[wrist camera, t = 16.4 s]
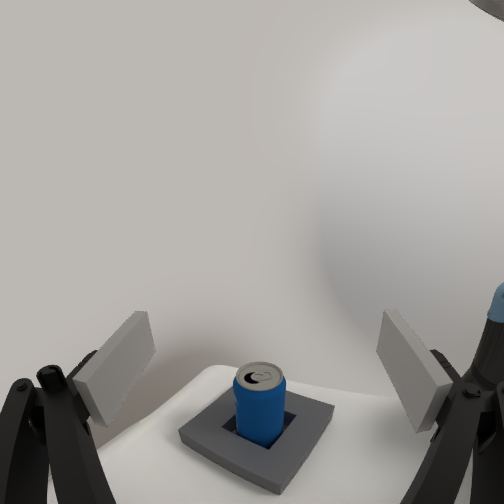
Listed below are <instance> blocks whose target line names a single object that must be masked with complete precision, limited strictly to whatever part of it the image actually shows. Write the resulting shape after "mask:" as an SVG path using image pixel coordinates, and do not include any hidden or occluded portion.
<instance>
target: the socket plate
mask: <svg viewBox="0 0 504 504" xmlns="http://www.w3.org/2000/svg"><path fill="white" fill-rule="evenodd" d="M334 407H335V406H334V405H330V404H327V403H324V402H320V401H317V400H314V399H311V398H307V397H304V396H301V395H298V394H295V393H292V392H289V391H286V393H285V407H284V420H283V423H284V424H287V425H289V426H288V427H287V429H286V430H285V431H284V432H283V434H282V435H281V436H280V437H279V439H278V440H277V441H276V442H275V443H274V445H273V446H272V447H271V448H270V449H269V450H268V449H266V448H263V447H261V446H259V445H257V444H254V443H252V442H250V441H248V440H246V439H244V438H242V437H240V436H238V435H236V434H234V433H232V432H231V431H232V430H233V429H234V428H235V427H236V415H235V403H234V391H233V386H232V387H231V388H230V389H229V390H228V391H226V392H225V393H224V394H223V395H222V396H220V397H219V398H218V399H217V400H216V401H214V402H213V403H212V404H211V405H209V406H208V407H207V408H206V409H204V410H203V411H202V412H201V413H199V414H198V415H197V416H195V417H194V418H193V419H192V420H190V421H189V422H188V423H186V424H185V425H184V426H182V427H181V428H180V429H178V431H179V435H180V438H181V441H182V442H183V443H184V444H186V445H187V446H189V447H190V448H192V449H193V450H195V451H196V452H198V453H199V454H201V455H203V456H204V457H206V458H208V459H209V460H211V461H213V462H214V463H216V464H218V465H220V466H221V467H223V468H225V469H227V470H229V471H230V472H232V473H234V474H236V475H238V476H240V477H242V478H244V479H246V480H248V481H250V482H252V483H254V484H256V485H258V486H260V487H262V488H264V489H267V490H269V491H271V492H273V493H276V494H278V495H281V493H282V492H283V491H284V489H285V488H286V487H287V485H288V484H289V483H290V481H291V480H292V479H293V477H294V476H295V475H296V473H297V472H298V470H299V469H300V468H301V466H302V465H303V463H304V462H305V460H306V459H307V457H308V456H309V454H310V453H311V451H312V450H313V448H314V447H315V445H316V444H317V442H318V440H319V439H320V437H321V436H322V434H323V432H324V431H325V429H326V428H327V426H328V424H329V422H330V421H331V419H332V416H333V411H334Z"/></svg>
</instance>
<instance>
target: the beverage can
mask: <svg viewBox="0 0 504 504" xmlns="http://www.w3.org/2000/svg"><path fill="white" fill-rule="evenodd" d="M233 391H234V403H235V415H236V427H237V435H238V436H240V437H242V438H244V439H246V440H248V441H250V442H252V443H254V444H257V445H259V446H261V447H263V448H265V447H269V446H272V445H274V443H275V442H276V441H277V440H278V439H279V437H280V436H281V435H282V432H283V420H284V407H285V393H286V380H285V378H284V376H283V373H282V371H281V369H280V368H279V367H277V366H276V365H274V364H271V363H267V362H253V363H249V364H246V365H244V366H242V367H241V368H240V369H239V370H238V371H237V373H236V377H235V378H234V381H233Z"/></svg>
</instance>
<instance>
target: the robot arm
mask: <svg viewBox="0 0 504 504" xmlns="http://www.w3.org/2000/svg"><path fill="white" fill-rule="evenodd" d="M469 1H470V2H472V3H473V4H474V5H475V6H477V7H478V8H480V9H482V10H483V11H485V12H486V13H488V14H490V15H492V16H493V17H496V18H497V19H499V20H501V21H503V22H504V0H469ZM487 316H488V318H487V321H486V325H485V328H484V331H483V335H482V337H481V340H480V343H479V346H478V349H477V351H476V354H475V357H474V359H473V362H472V364H471V366H470V368H469V369H468V370H467V372H466V373H465V374H464V375H463V376H462V377H460V375H459V374H458V373H457V372H456V370H455V369H454V368H453V367H452V365H451V364H450V363H449V362H448V360H447V359H446V358H445V356H444V355H443V354H442V353H440V352H438V351H437V350H435V349H434V350H429V349H428V348H427V347H426V345H424V343H423V342H422V340H421V339H420V338H419V336H418V335H417V334H416V333H415V331H414V330H413V329H412V328H411V327H410V325H409V324H408V323H407V322H406V320H405V319H404V318H403V317H402V316H401V314H400V313H399V312H398V311H397V310H396V309H389V310H384V312H383V318H382V324H381V330H380V335H379V340H378V345H377V351H376V352H377V354H378V356H379V358H380V360H381V361H382V364H383V366H384V367H385V370H386V371H387V373H388V375H389V377H390V379H391V382H392V383H393V386H394V387H395V389H396V392H397V394H398V396H399V398H400V400H401V402H402V404H403V406H404V409H405V411H406V413H407V415H408V417H409V419H410V422H411V424H412V426H413V428H414V430H415V433H419V432H423V431H426V430H430V429H431V428H432V426H433V424H434V422H435V420H436V422H437V424H438V428H437V430H436V432H435V433H434V435H433V437H432V439H431V440H430V442H431V444H430V447H429V449H428V451H427V453H426V456H425V458H424V460H423V462H422V464H421V466H420V468H419V470H418V472H417V474H416V476H415V478H414V480H413V482H412V484H411V486H410V487H409V489H408V491H407V493H406V495H405V496H404V498H403V500H402V501H401V503H400V504H454V502H455V499H456V497H457V494H458V492H459V489H460V486H461V484H462V481H463V478H464V475H465V472H466V469H467V466H468V462H469V459H470V456H471V452H472V448H473V473H472V487H471V497H470V504H504V283H502V284H501V285H500V286H498V288H497V289H496V292H495V294H494V297H493V301H492V304H491V307H490V309H489V311H488V314H487ZM155 352H156V351H155V346H154V342H153V338H152V333H151V329H150V324H149V319H148V314H147V312H144V311H135V312H134V313H133V314H132V315H131V316H130V317H129V318H128V319H127V320H126V321H125V322H124V323H123V325H122V326H121V327H120V328H119V329H118V330H117V331H116V332H115V333H114V334H113V335H112V336H111V337H110V338H109V339H108V340H107V341H106V342H105V344H104V345H103V346H102V347H101V348H100V349H99V350H94V351H93V352H91V353H89V354H88V355H87V356H86V357H85V358H84V359H83V360H82V362H80V363H79V364H78V366H76V367H75V368H74V369H73V371H72V372H71V373H70V374H69V375H68V376H67V377H66V378H65V377H64V375H63V372H62V370H61V368H60V367H59V366H57V365H48V366H45V367H43V368H42V369H40V370H39V371H38V372H37V375H36V377H37V379H38V381H39V383H40V385H41V387H42V388H37V387H34V385H33V383H32V381H31V380H30V379H27V378H22V379H19V380H17V381H15V382H14V383H13V385H12V386H11V388H10V391H9V393H8V395H7V398H6V401H5V403H4V406H3V408H2V411H1V413H0V504H47V487H48V473H49V462H50V468H51V474H52V479H53V484H54V488H55V493H56V497H57V501H58V504H116V502H115V499H114V497H113V495H112V492H111V490H110V487H109V485H108V482H107V480H106V477H105V474H104V472H103V469H102V466H101V463H100V460H99V457H98V454H97V451H96V448H95V444H94V441H93V438H92V434H91V430H90V427H89V424H88V422H87V421H86V420H87V419H88V417H89V416H91V418H92V420H93V422H94V423H95V424H97V425H100V426H103V427H106V428H108V427H109V426H110V424H111V422H112V421H113V419H114V417H115V416H116V414H117V413H118V411H119V409H120V408H121V406H122V404H123V403H124V401H125V399H126V398H127V396H128V395H129V393H130V391H131V390H132V388H133V387H134V385H135V384H136V382H137V380H138V379H139V377H140V376H141V374H142V373H143V371H144V369H145V368H146V366H147V365H148V363H149V361H150V360H151V358H152V357H153V355H154V354H155ZM29 421H30V422H29Z"/></svg>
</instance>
